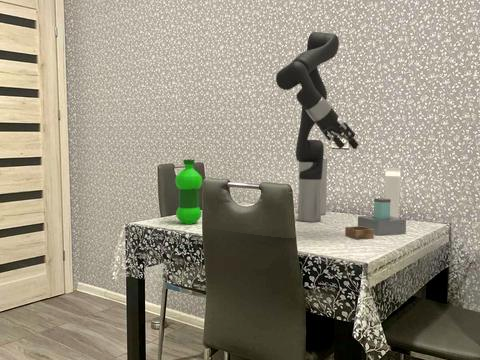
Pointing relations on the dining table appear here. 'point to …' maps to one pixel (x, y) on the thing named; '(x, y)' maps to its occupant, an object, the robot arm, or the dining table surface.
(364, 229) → the brown wooden square frame
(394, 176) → the milk
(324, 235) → the dining table surface
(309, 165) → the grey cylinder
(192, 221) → the plastic bottle
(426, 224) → the dining table surface
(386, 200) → the plug
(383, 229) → the port
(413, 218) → the dining table surface
